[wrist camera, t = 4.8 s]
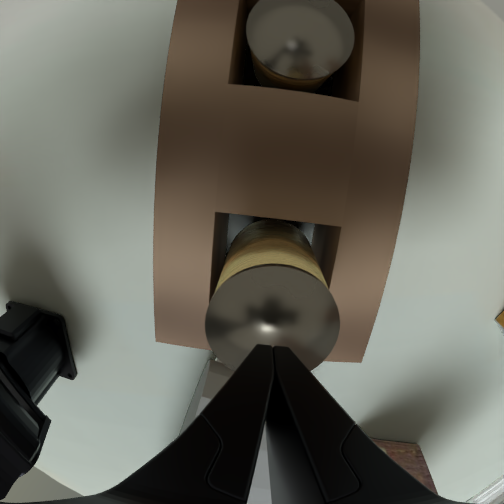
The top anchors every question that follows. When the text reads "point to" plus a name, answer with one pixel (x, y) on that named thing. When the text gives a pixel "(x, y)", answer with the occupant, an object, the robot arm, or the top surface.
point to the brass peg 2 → (271, 298)
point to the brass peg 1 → (298, 42)
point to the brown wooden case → (408, 460)
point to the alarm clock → (205, 391)
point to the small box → (500, 321)
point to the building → (490, 493)
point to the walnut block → (282, 161)
